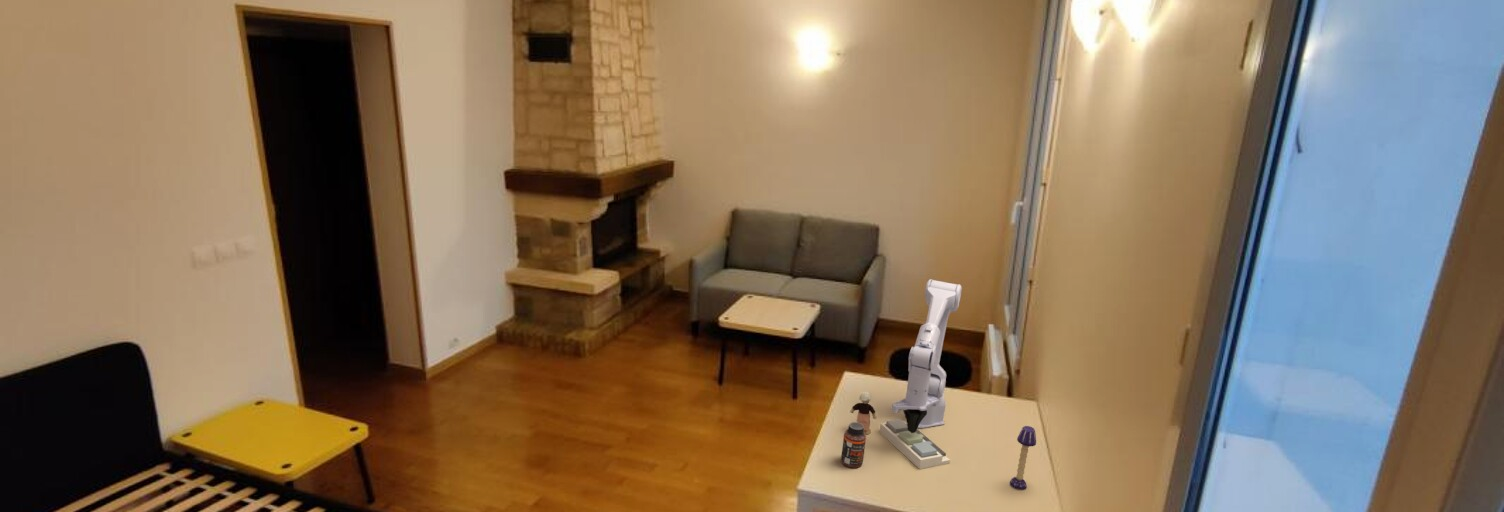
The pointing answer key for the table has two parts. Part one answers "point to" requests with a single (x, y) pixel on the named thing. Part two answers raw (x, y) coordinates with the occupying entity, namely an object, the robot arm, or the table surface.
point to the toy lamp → (1023, 455)
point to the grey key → (897, 425)
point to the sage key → (910, 437)
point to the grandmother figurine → (864, 411)
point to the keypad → (910, 453)
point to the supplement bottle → (853, 445)
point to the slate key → (924, 449)
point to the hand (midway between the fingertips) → (911, 431)
